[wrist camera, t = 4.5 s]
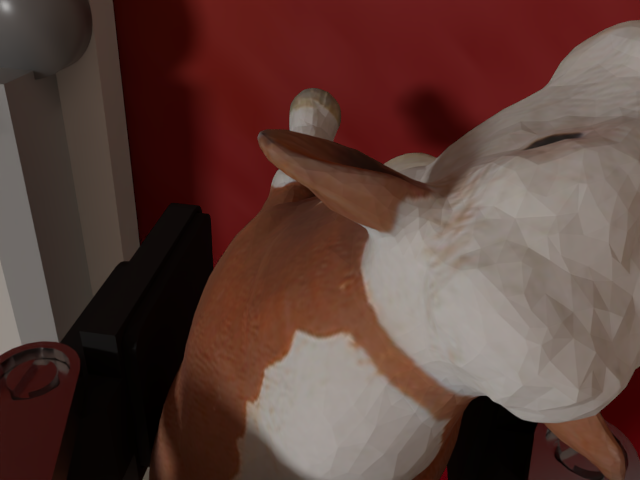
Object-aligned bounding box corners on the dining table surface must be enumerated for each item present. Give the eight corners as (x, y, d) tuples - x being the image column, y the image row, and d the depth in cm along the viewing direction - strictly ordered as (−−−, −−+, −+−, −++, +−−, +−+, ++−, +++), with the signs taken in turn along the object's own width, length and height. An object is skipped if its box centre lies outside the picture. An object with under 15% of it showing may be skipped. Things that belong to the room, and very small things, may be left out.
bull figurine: (608, -23, 10) (1123, 237, 3) (326, 459, 17) (280, 867, 10) (360, -130, 9) (269, -124, 2) (177, 410, 16) (21, 802, 10)
